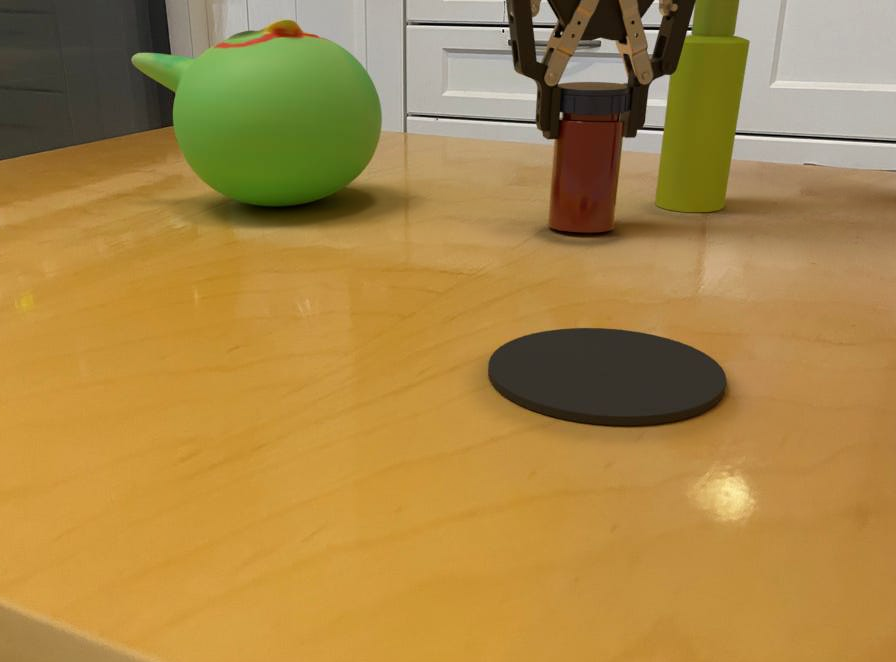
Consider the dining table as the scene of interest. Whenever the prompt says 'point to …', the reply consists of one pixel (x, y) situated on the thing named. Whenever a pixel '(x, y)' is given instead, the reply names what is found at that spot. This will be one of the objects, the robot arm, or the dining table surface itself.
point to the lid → (595, 98)
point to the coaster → (607, 376)
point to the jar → (585, 173)
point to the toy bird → (272, 114)
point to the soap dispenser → (703, 111)
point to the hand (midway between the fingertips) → (589, 136)
